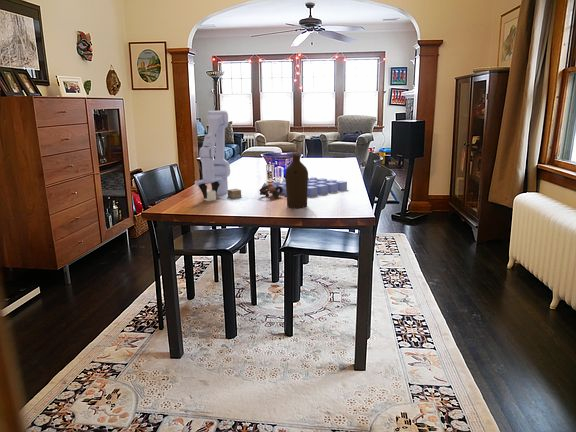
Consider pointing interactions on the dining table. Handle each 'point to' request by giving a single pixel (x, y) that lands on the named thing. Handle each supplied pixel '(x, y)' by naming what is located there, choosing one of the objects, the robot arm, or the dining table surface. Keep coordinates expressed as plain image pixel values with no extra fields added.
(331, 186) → the blocks
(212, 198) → the ivory block
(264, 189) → the dark brown figurine
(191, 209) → the dining table surface
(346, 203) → the dining table surface
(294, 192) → the olive oil
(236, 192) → the walnut base block
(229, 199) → the board
